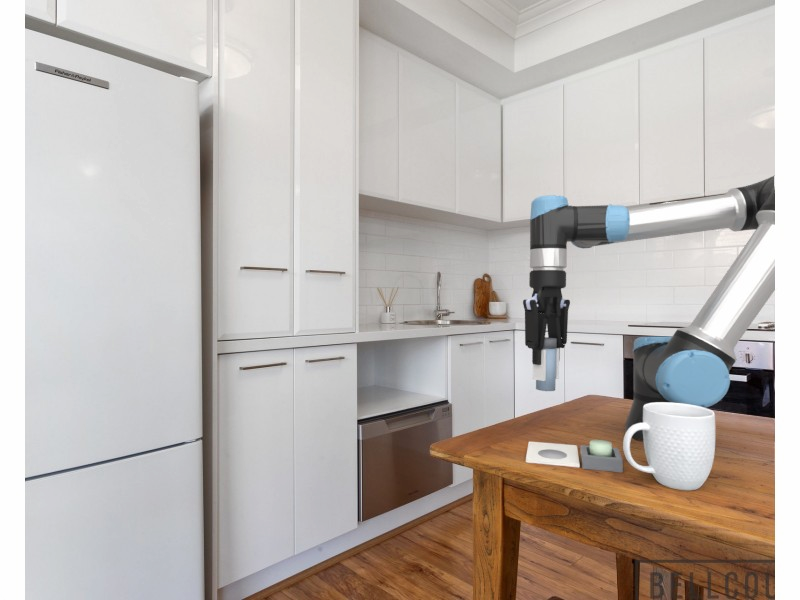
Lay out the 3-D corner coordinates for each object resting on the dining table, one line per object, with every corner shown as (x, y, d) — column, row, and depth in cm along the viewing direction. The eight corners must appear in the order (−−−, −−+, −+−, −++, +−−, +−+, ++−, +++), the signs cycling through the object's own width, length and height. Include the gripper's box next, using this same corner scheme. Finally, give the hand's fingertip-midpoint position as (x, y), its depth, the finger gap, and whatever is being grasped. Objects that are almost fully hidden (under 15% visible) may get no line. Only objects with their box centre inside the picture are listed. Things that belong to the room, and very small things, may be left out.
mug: (639, 496, 80) (639, 417, 80) (610, 471, 91) (610, 402, 91) (730, 496, 80) (730, 416, 79) (690, 471, 91) (691, 401, 90)
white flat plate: (576, 448, 104) (576, 444, 104) (579, 467, 93) (579, 463, 93) (528, 444, 108) (528, 440, 108) (525, 462, 96) (525, 458, 96)
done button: (610, 453, 96) (610, 440, 96) (612, 460, 92) (612, 446, 92) (589, 451, 97) (588, 438, 97) (590, 458, 93) (590, 445, 93)
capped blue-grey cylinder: (543, 386, 107) (544, 336, 107) (559, 389, 104) (560, 338, 104) (531, 388, 105) (532, 337, 105) (547, 392, 102) (548, 339, 101)
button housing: (618, 460, 97) (618, 448, 97) (622, 472, 90) (622, 459, 90) (580, 456, 99) (580, 445, 99) (582, 468, 92) (582, 456, 92)
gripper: (556, 271, 112) (554, 372, 112) (507, 268, 102) (505, 380, 102) (586, 270, 106) (584, 377, 107) (537, 267, 96) (535, 385, 96)
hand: (545, 378), depth 104 cm, fingers closed on capped blue-grey cylinder, 4 cm apart
